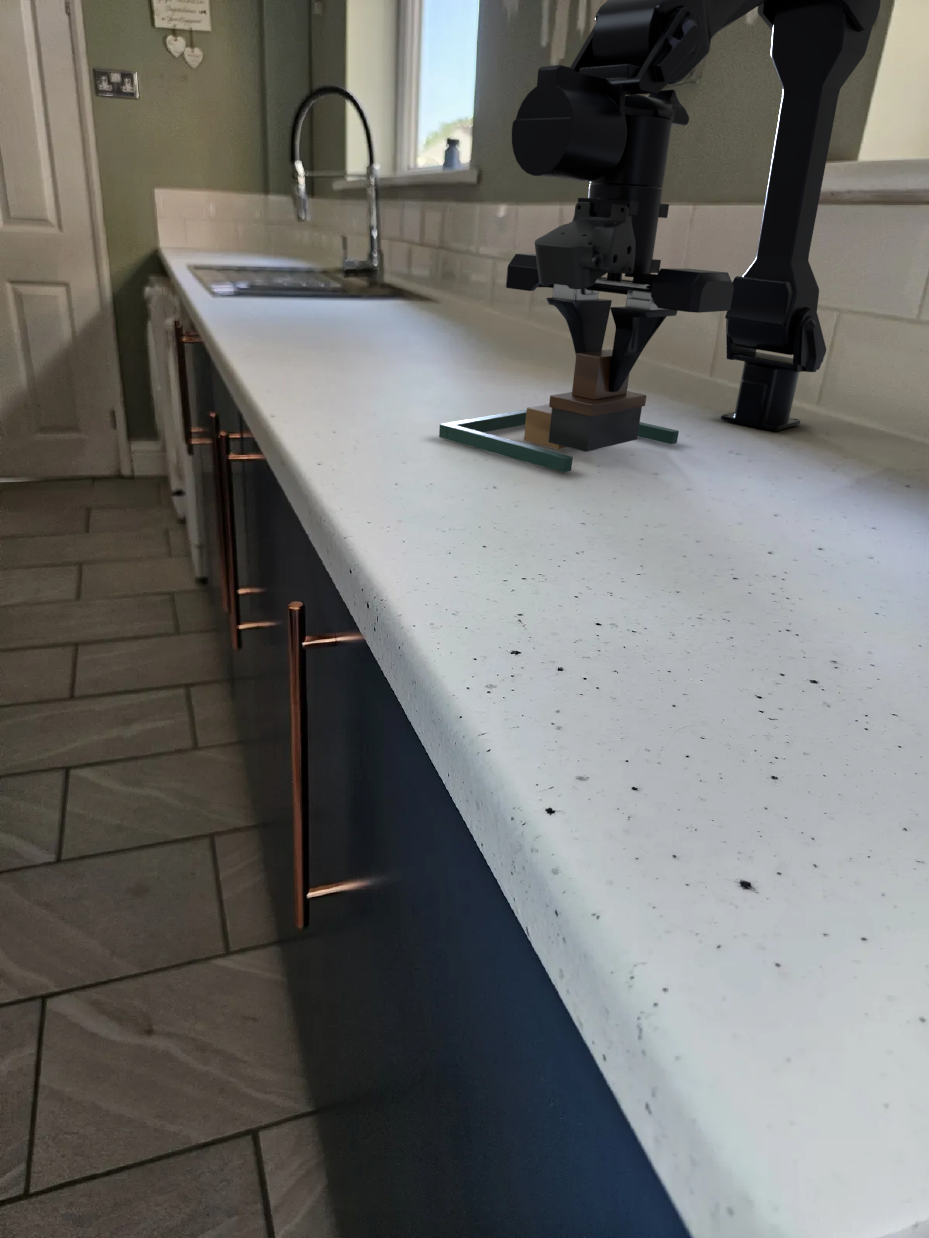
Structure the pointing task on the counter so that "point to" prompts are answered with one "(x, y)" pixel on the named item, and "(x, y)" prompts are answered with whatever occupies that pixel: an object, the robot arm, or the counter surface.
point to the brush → (594, 407)
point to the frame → (474, 436)
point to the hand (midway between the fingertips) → (600, 389)
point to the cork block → (539, 426)
